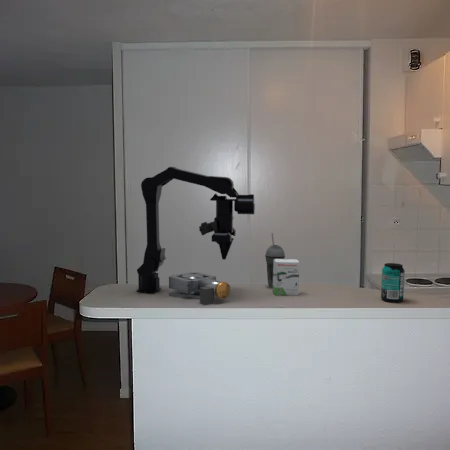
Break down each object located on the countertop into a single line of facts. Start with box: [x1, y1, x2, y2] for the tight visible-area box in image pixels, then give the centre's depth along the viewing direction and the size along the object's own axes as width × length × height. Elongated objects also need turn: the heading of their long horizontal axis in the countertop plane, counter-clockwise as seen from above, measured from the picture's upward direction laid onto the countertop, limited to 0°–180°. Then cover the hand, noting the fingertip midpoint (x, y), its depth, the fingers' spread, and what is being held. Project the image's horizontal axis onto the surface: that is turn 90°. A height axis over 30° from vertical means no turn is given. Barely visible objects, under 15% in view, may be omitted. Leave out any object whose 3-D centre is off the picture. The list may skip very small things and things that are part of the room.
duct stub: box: [168, 274, 203, 300], centre depth 172 cm, size 12×12×6 cm
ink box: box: [272, 258, 301, 296], centre depth 173 cm, size 9×5×12 cm, turn 93°
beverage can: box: [380, 262, 406, 304], centre depth 165 cm, size 7×7×12 cm
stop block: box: [199, 286, 214, 306], centre depth 160 cm, size 3×3×5 cm
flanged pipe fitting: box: [168, 271, 231, 300], centre depth 168 cm, size 22×12×5 cm, turn 42°
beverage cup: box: [264, 232, 286, 289], centre depth 182 cm, size 7×7×20 cm
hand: (224, 259), depth 172 cm, fingers closed
